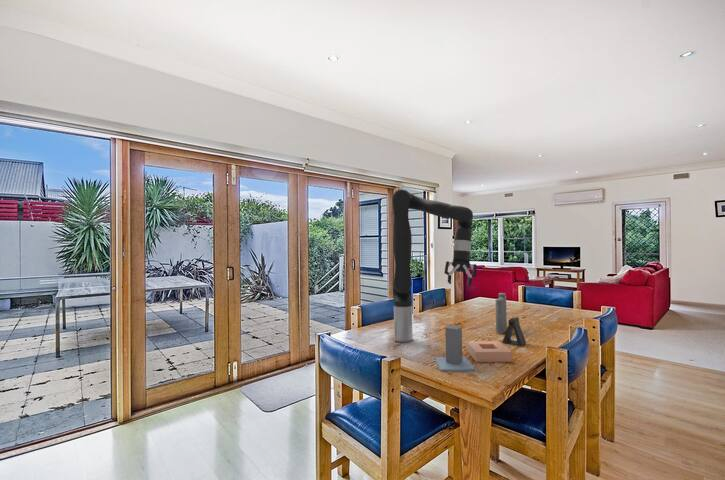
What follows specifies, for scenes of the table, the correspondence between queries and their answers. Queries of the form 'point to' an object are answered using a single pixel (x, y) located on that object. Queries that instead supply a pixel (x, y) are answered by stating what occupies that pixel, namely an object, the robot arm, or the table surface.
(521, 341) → the dark grey triangular frame
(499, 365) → the table surface
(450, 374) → the table surface
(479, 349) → the terracotta cradle
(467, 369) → the slate pad
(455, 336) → the charcoal post
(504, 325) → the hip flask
